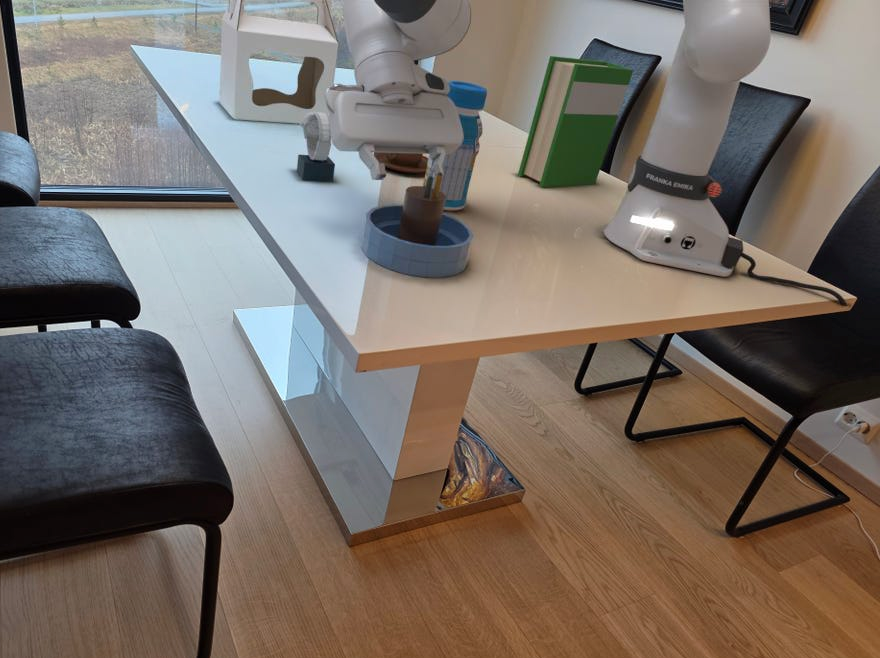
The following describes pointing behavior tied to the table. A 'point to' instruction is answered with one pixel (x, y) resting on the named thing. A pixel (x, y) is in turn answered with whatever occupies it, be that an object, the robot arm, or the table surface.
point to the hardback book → (574, 121)
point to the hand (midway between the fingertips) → (408, 178)
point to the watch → (316, 148)
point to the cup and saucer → (403, 161)
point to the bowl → (415, 245)
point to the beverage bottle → (462, 159)
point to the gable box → (281, 37)
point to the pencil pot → (422, 213)
